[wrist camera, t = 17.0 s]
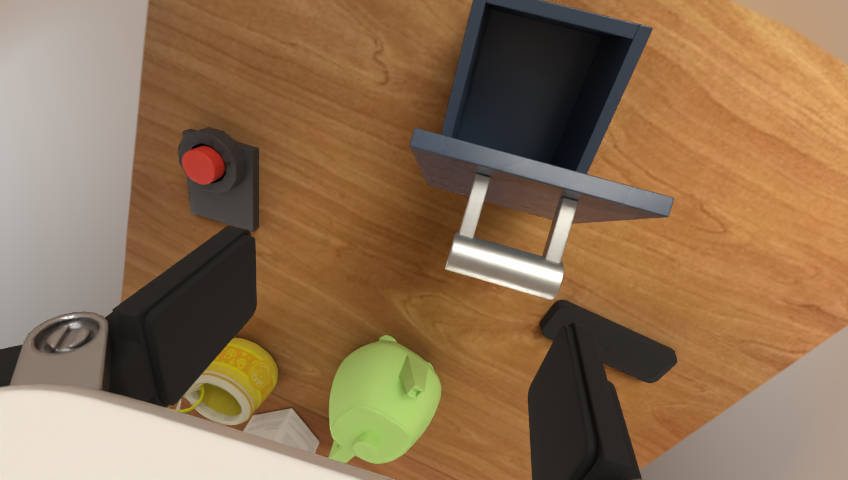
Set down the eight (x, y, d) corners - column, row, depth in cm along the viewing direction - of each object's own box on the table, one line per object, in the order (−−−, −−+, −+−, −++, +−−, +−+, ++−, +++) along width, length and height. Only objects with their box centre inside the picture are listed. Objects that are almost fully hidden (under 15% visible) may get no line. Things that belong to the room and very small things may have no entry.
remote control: (536, 323, 47) (650, 378, 47) (536, 333, 45) (654, 389, 45) (558, 294, 44) (679, 351, 44) (560, 303, 43) (684, 363, 43)
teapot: (395, 296, 48) (361, 374, 37) (478, 355, 50) (470, 446, 39) (321, 375, 58) (277, 455, 47) (393, 422, 60) (368, 510, 49)
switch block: (189, 117, 42) (168, 122, 39) (258, 136, 41) (242, 143, 39) (197, 209, 48) (179, 219, 45) (259, 227, 47) (244, 238, 44)
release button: (192, 141, 40) (179, 146, 39) (224, 150, 40) (213, 155, 39) (195, 173, 42) (183, 179, 41) (226, 182, 42) (215, 188, 40)
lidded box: (485, -5, 32) (476, -16, 23) (614, 27, 31) (653, 27, 23) (447, 144, 38) (430, 178, 30) (554, 173, 37) (567, 216, 29)
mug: (297, 379, 59) (252, 453, 49) (243, 389, 63) (191, 460, 53) (250, 314, 54) (189, 381, 44) (195, 329, 58) (127, 394, 48)
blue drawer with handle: (414, 127, 16) (378, 255, 16) (675, 197, 15) (634, 329, 15) (430, 175, 29) (410, 244, 29) (570, 213, 29) (548, 284, 29)
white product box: (251, 413, 66) (188, 508, 53) (292, 406, 63) (236, 504, 50) (281, 448, 69) (228, 545, 56) (321, 442, 66) (276, 544, 53)
